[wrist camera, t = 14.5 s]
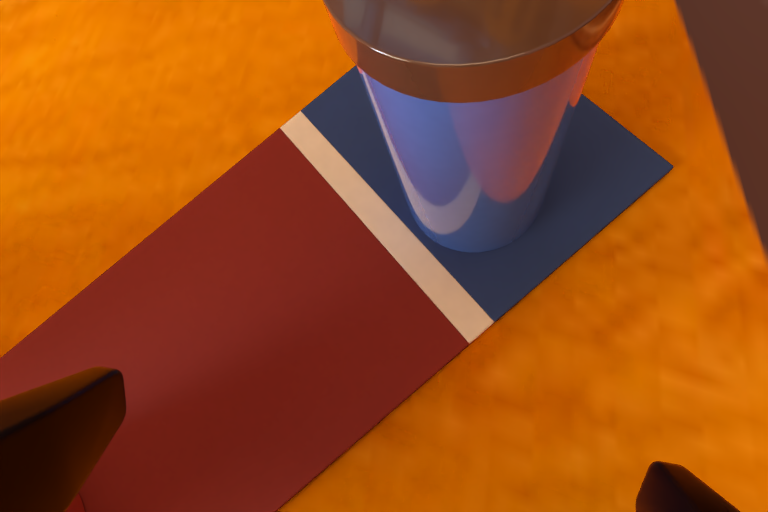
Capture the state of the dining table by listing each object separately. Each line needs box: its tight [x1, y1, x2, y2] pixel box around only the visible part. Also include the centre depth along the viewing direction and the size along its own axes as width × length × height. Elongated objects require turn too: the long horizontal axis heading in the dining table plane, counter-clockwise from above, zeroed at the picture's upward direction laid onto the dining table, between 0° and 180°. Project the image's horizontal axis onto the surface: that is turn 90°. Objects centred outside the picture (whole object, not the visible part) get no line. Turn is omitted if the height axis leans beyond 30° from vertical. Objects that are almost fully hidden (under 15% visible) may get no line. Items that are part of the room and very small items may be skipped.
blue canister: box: [323, 0, 624, 253], centre depth 16 cm, size 7×7×13 cm
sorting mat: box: [0, 65, 673, 512], centre depth 22 cm, size 14×38×1 cm, turn 129°
